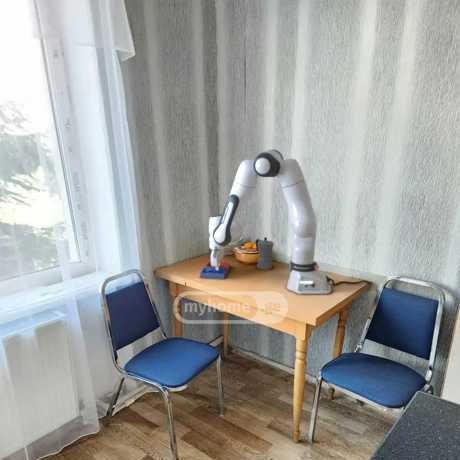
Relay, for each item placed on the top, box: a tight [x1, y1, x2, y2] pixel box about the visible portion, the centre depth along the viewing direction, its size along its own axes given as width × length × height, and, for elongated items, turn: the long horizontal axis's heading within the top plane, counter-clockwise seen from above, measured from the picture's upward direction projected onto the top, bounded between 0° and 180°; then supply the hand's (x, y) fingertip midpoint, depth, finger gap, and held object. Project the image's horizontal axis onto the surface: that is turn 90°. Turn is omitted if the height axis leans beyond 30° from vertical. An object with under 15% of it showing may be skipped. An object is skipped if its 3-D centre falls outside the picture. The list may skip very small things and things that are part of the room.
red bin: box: [204, 261, 231, 273], centre depth 229 cm, size 13×9×3 cm
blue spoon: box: [205, 266, 224, 273], centre depth 218 cm, size 11×4×3 cm, turn 80°
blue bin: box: [199, 267, 228, 280], centre depth 219 cm, size 13×9×3 cm
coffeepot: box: [254, 236, 274, 271], centre depth 230 cm, size 15×9×18 cm, turn 35°
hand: (217, 269), depth 218 cm, fingers closed on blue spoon
